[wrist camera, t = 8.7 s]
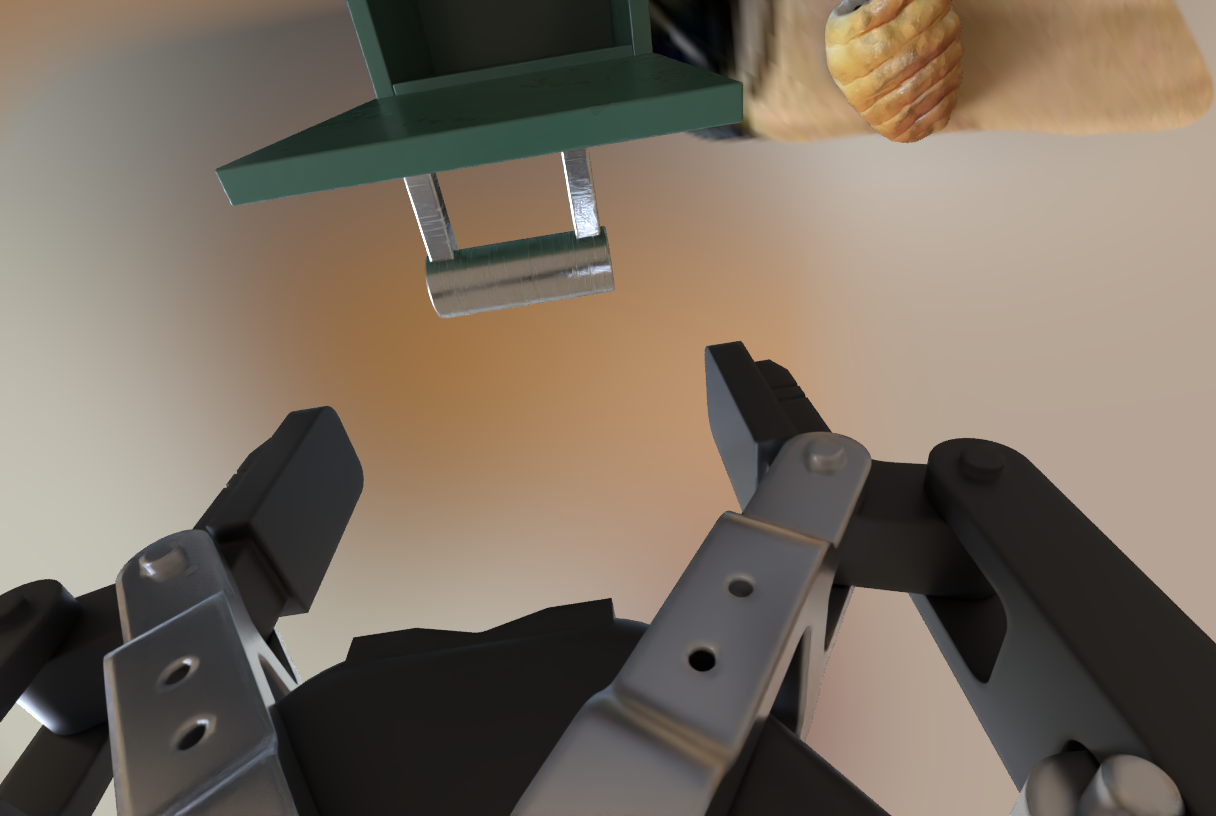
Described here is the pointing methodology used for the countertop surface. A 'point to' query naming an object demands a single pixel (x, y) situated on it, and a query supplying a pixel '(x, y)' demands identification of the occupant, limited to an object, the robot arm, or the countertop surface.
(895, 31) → the pastry
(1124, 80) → the countertop surface
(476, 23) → the box
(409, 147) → the lid
